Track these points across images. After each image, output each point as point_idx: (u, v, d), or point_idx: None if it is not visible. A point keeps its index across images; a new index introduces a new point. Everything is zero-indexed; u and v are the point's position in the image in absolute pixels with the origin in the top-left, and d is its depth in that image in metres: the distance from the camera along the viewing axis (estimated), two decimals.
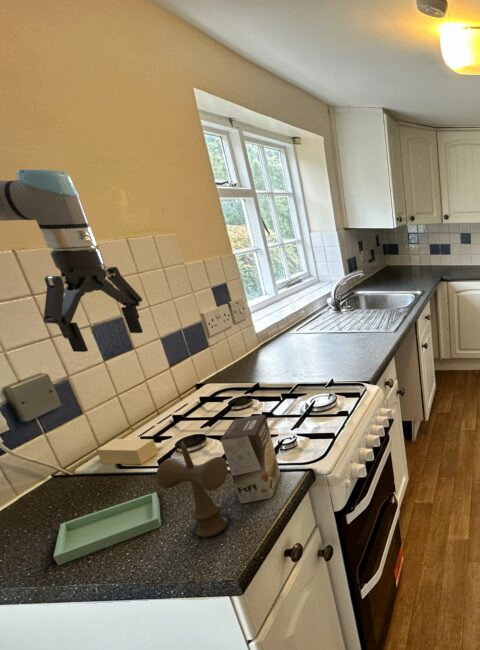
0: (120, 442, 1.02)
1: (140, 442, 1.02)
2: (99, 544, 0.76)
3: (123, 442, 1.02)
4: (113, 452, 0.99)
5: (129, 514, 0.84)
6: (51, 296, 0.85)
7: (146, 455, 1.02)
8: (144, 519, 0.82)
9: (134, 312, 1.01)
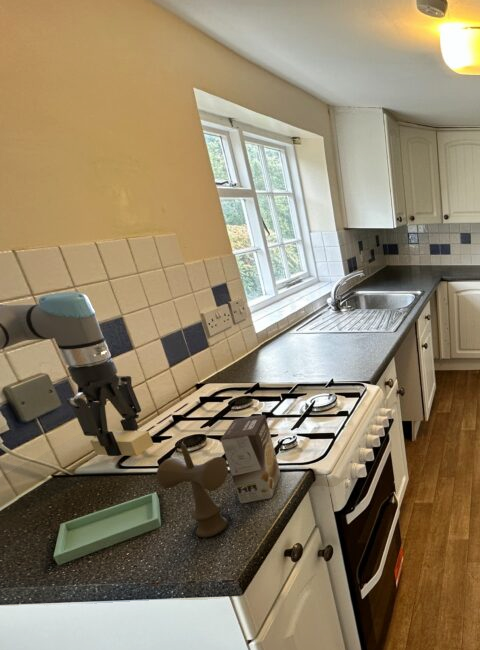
0: (114, 433, 1.01)
1: (135, 434, 1.01)
2: (99, 544, 0.76)
3: (118, 433, 1.01)
4: None
5: (129, 514, 0.84)
6: (81, 415, 0.91)
7: (141, 447, 1.01)
8: (144, 519, 0.82)
9: (133, 424, 1.03)
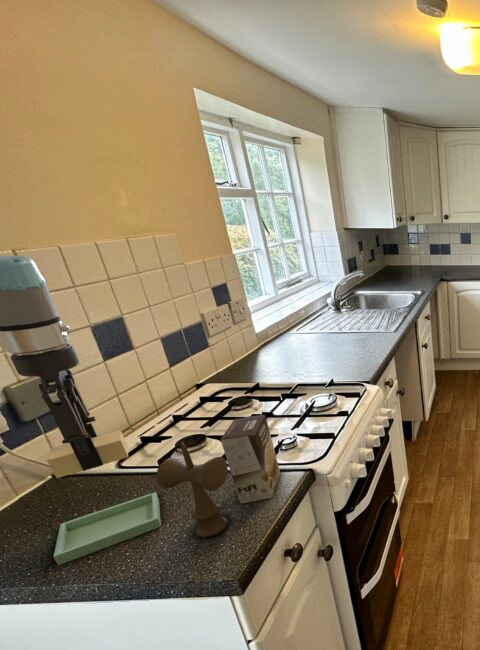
0: (70, 446, 0.78)
1: (109, 436, 0.81)
2: (99, 544, 0.76)
3: None
4: None
5: (129, 514, 0.84)
6: (63, 414, 0.71)
7: (125, 448, 0.82)
8: (144, 519, 0.82)
9: (93, 429, 0.81)
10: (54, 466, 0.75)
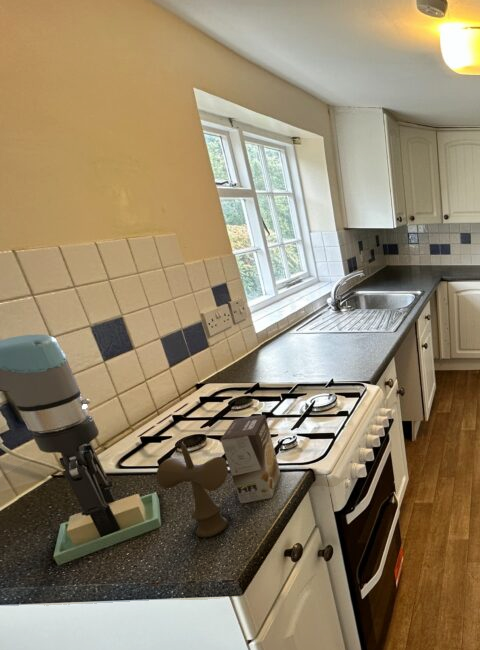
0: None
1: (127, 501, 0.82)
2: (99, 544, 0.76)
3: None
4: None
5: None
6: (83, 489, 0.71)
7: (143, 512, 0.83)
8: None
9: (111, 494, 0.81)
10: (73, 536, 0.75)
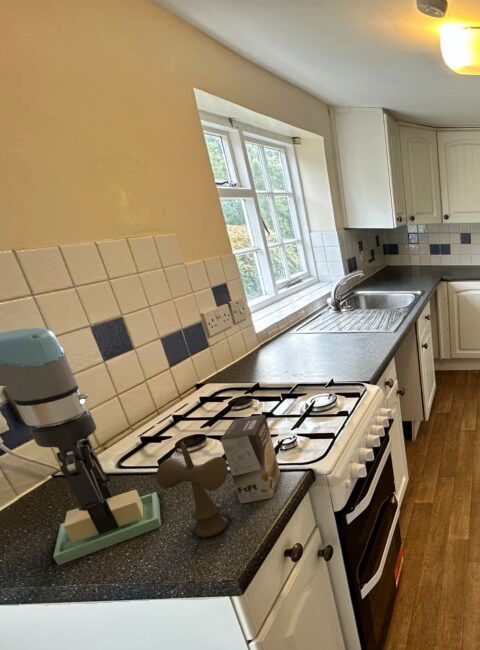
0: None
1: (124, 497, 0.81)
2: (99, 544, 0.76)
3: None
4: None
5: None
6: (80, 484, 0.71)
7: (140, 508, 0.82)
8: (144, 519, 0.82)
9: (109, 490, 0.81)
10: (70, 531, 0.75)
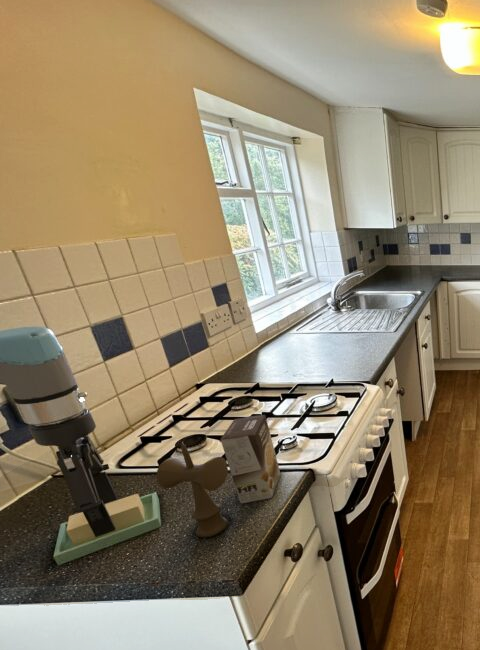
0: None
1: (126, 501, 0.82)
2: (99, 544, 0.76)
3: None
4: None
5: None
6: (77, 481, 0.70)
7: (142, 512, 0.83)
8: None
9: (107, 477, 0.82)
10: (73, 536, 0.75)
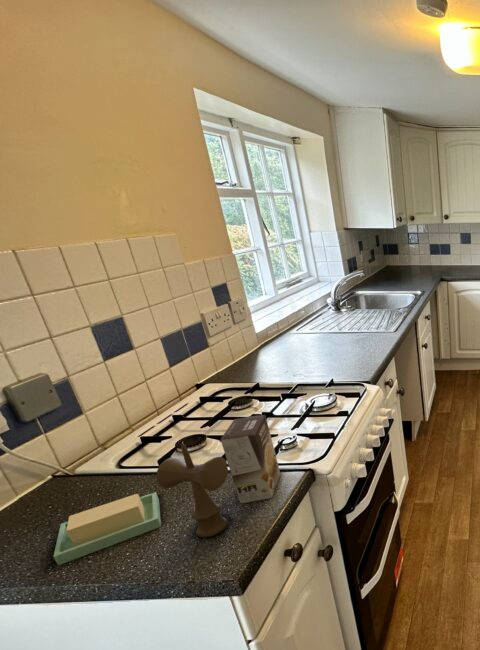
0: (89, 513, 0.78)
1: (126, 501, 0.82)
2: (99, 544, 0.76)
3: (95, 511, 0.79)
4: (98, 522, 0.77)
5: None
6: None
7: (142, 512, 0.83)
8: None
9: None
10: (73, 536, 0.75)
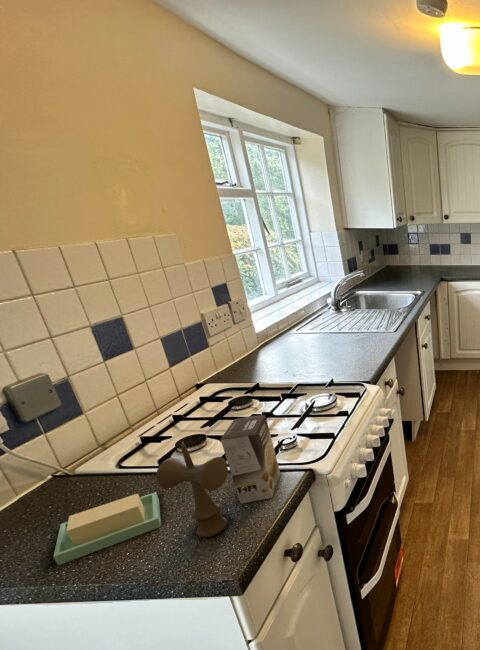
0: (89, 513, 0.78)
1: (126, 501, 0.82)
2: (99, 544, 0.76)
3: (95, 511, 0.79)
4: (98, 522, 0.77)
5: None
6: None
7: (142, 512, 0.83)
8: None
9: None
10: (73, 536, 0.75)
